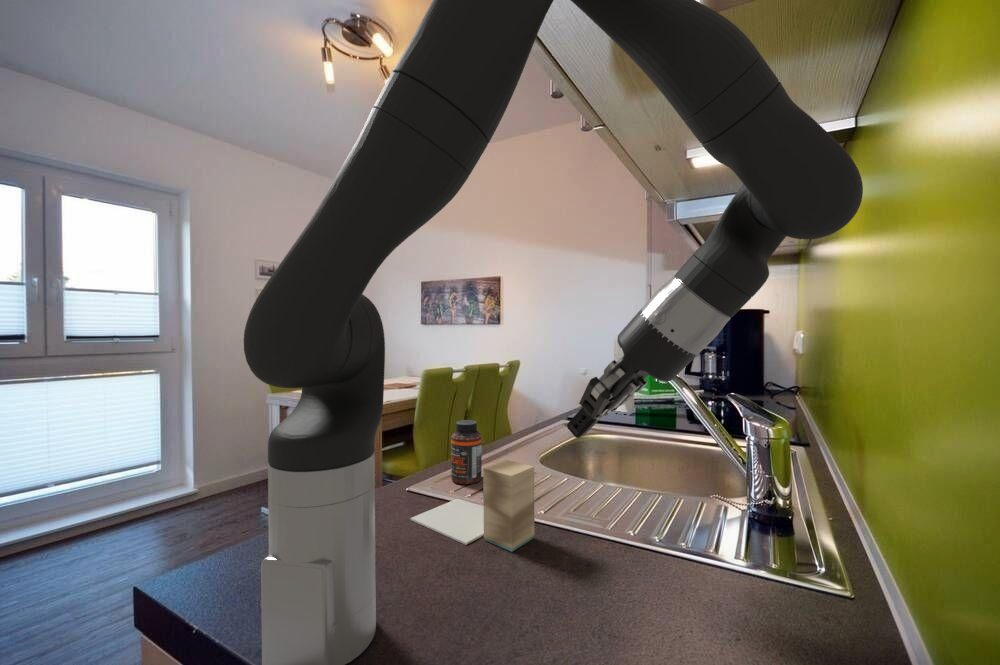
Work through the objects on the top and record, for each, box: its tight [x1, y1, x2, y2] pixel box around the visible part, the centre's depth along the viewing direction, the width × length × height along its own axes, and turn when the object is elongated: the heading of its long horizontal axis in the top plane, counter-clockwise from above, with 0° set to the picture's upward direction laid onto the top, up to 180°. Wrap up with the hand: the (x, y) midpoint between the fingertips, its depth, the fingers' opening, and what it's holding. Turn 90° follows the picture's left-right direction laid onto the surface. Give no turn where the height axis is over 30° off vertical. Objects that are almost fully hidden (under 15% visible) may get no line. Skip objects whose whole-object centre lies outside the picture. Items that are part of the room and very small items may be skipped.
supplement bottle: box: [450, 419, 483, 485], centre depth 83 cm, size 6×6×11 cm
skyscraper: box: [612, 333, 635, 412], centre depth 148 cm, size 8×8×28 cm
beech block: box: [482, 459, 535, 552], centre depth 59 cm, size 5×5×10 cm
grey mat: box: [410, 498, 484, 546], centre depth 66 cm, size 12×10×1 cm
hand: (574, 431), depth 53 cm, fingers closed
